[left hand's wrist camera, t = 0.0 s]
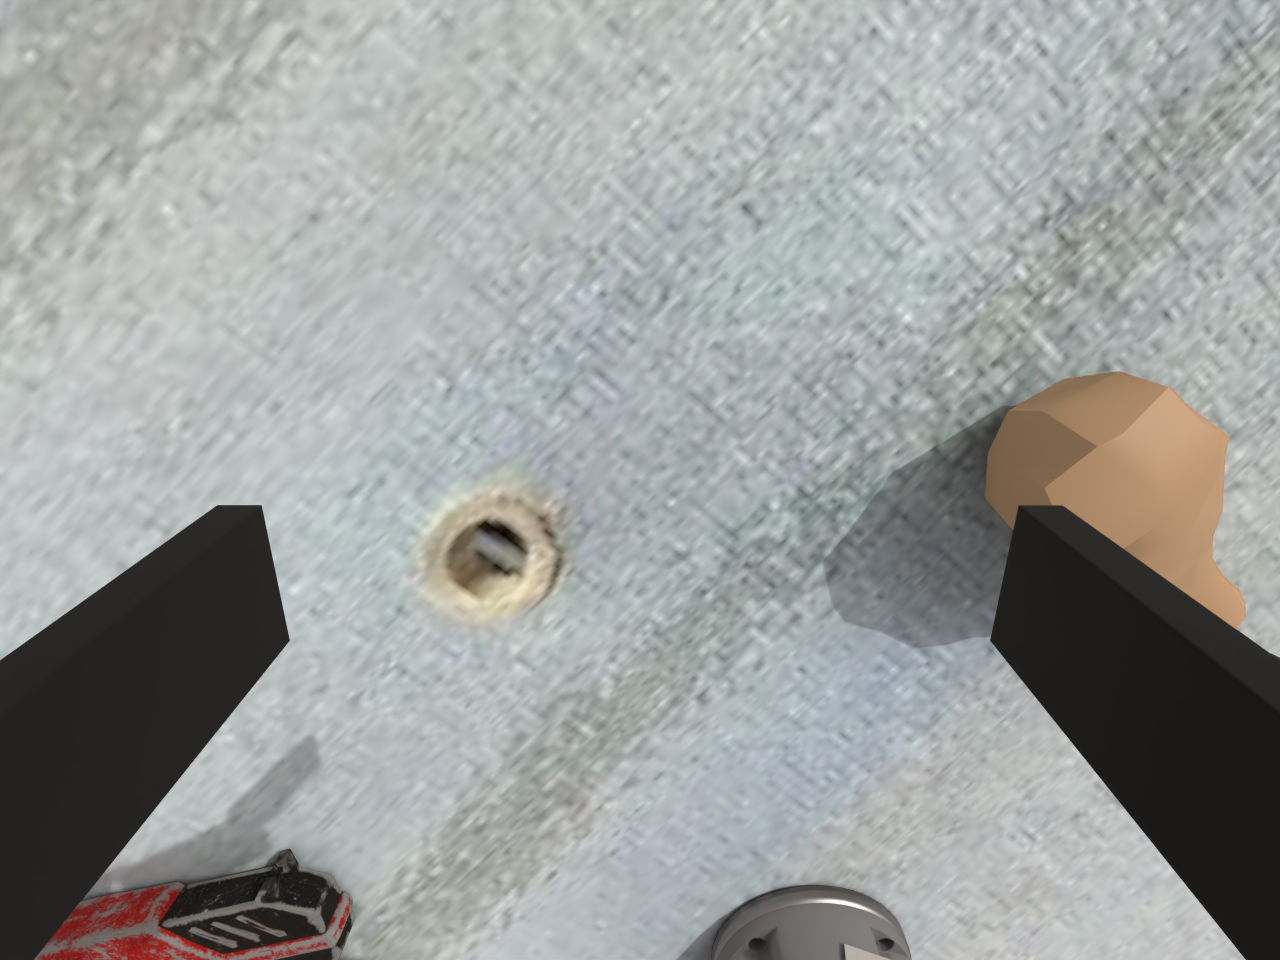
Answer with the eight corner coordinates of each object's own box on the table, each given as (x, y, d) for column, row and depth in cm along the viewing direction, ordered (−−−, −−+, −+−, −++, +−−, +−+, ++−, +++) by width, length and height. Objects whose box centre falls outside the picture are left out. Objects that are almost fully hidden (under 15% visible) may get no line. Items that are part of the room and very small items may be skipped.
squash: (1069, 313, 39) (1232, 336, 30) (1212, 530, 46) (1374, 597, 38) (923, 457, 40) (1042, 518, 31) (1088, 647, 47) (1218, 736, 39)
